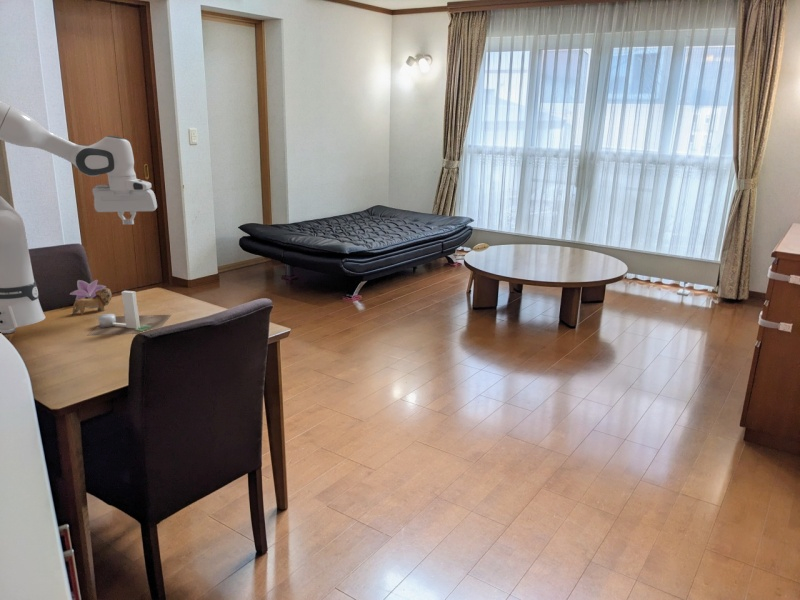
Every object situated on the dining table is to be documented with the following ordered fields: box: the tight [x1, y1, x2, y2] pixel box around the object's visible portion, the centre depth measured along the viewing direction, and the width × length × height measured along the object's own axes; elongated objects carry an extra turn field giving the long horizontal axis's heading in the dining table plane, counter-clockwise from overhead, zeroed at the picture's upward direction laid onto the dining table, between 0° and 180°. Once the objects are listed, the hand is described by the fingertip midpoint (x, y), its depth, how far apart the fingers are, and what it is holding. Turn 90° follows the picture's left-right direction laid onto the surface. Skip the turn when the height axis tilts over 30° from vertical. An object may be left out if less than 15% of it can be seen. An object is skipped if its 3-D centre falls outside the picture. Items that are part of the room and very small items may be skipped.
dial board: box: [86, 314, 172, 336], centre depth 197 cm, size 21×19×2 cm
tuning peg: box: [97, 290, 140, 329], centre depth 194 cm, size 14×5×12 cm, turn 74°
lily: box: [69, 279, 107, 301], centre depth 226 cm, size 12×12×10 cm
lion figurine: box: [71, 287, 113, 316], centre depth 210 cm, size 15×5×9 cm, turn 135°
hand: (128, 224), depth 210 cm, fingers closed
